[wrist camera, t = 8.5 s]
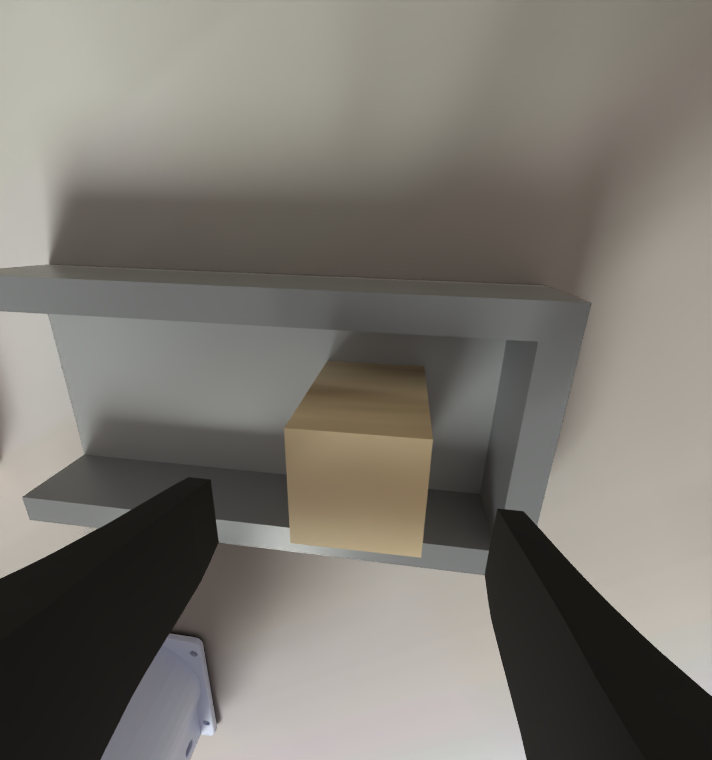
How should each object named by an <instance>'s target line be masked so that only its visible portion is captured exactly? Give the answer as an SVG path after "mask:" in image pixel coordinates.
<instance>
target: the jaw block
mask: <svg viewBox="0 0 712 760" xmlns="http://www.w3.org/2000/svg"><path fill="white" fill-rule="evenodd" d="M284 436H285V454H286V473H287V491H288V509H289V527H290V543H294V544H303V545H312V546H321V547H330V548H339V549H348V550H356V551H365V552H374V553H383V554H392V555H401V556H410V557H419V558H421V554H422V544H423V534H424V524H425V514H426V504H427V494H428V484H429V474H430V464H431V454H432V445H433V435H432V427H431V419H430V410H429V402H428V393H427V385H426V377H425V368H424V366H410V365H392V364H375V363H357V362H339V361H327V362H326V363H325V365H324V367H323V368H322V370H321V371H320V373H319V374H318V376H317V377H316V379H315V381H314V382H313V384H312V385H311V387H310V388H309V390H308V392H307V393H306V395H305V396H304V398H303V399H302V401H301V402H300V404H299V406H298V407H297V409H296V410H295V412H294V413H293V415H292V416H291V418H290V420H289V421H288V423H287V424H286V426H285V427H284Z"/></svg>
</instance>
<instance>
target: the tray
mask: <svg viewBox="0 0 712 760" xmlns="http://www.w3.org/2000/svg"><path fill="white" fill-rule="evenodd" d="M590 306H591V302H588V301H585V300H583V299H580V298H577V297H575V296H572V295H569V294H567V293H564V292H561V291H559V290H556V289H553V288H551V287H548V286H545V285H528V284H504V283H480V282H456V281H432V280H408V279H383V278H359V277H335V276H311V275H287V274H263V273H239V272H215V271H191V270H166V269H142V268H118V267H94V266H70V265H37V266H25V267H13V268H1V269H0V311H8V312H25V313H43V314H48V316H49V320H50V323H51V327H52V331H53V335H54V339H55V343H56V346H57V350H58V354H59V358H60V362H61V366H62V369H63V373H64V377H65V381H66V385H67V389H68V392H69V396H70V400H71V404H72V408H73V412H74V416H75V419H76V423H77V427H78V431H79V435H80V439H81V442H82V446H83V450H84V454H85V455H83V456H82V457H80V458H79V459H77V460H76V461H74V462H73V463H72V464H70V465H69V466H67V467H66V468H64V469H63V470H61V471H60V472H58V473H57V474H55V475H54V476H52V477H51V478H49V479H48V480H47V481H45V482H44V483H42V484H41V485H39V486H38V487H36V488H35V489H33V490H32V491H30V492H29V493H27V494H26V495H25V496H23V497H22V498H23V501H24V504H25V507H26V510H27V513H28V516H29V518H30V520H36V521H44V522H52V523H60V524H68V525H77V526H85V527H93V528H100V527H102V526H104V525H106V524H108V523H109V522H111V521H113V520H115V519H116V518H118V517H120V516H121V515H123V514H125V513H127V512H128V511H130V510H132V509H133V508H135V507H137V506H139V505H140V504H142V503H144V502H145V501H147V500H149V499H150V498H152V497H154V496H156V495H157V494H159V493H161V492H162V491H164V490H166V489H168V488H169V487H171V486H173V485H175V484H176V483H178V482H180V481H182V480H184V479H186V478H188V477H193V478H202V479H211V484H212V492H213V500H214V508H215V516H216V524H217V532H218V540H219V542H218V543H224V544H233V545H241V546H249V547H257V548H265V549H274V550H282V551H290V552H298V553H306V554H315V555H323V556H331V557H339V558H347V559H356V560H364V561H372V562H380V563H389V564H397V565H405V566H413V567H421V568H430V569H438V570H446V571H454V572H462V573H471V574H479V575H485V569H486V564H487V559H488V553H489V548H490V543H491V538H492V533H493V527H494V522H495V517H496V512H497V509H507V510H517V511H524V512H525V513H526V514H527V515H528V516H529V518H530V519H531V520H532V521H533V522H534V523H535V524H536V525H537V524H538V519H539V515H540V511H541V507H542V503H543V499H544V495H545V491H546V487H547V483H548V478H549V474H550V470H551V466H552V462H553V458H554V454H555V450H556V446H557V442H558V438H559V433H560V429H561V425H562V421H563V417H564V413H565V409H566V405H567V401H568V397H569V392H570V388H571V384H572V380H573V376H574V372H575V368H576V364H577V360H578V356H579V351H580V347H581V343H582V339H583V335H584V331H585V327H586V323H587V319H588V315H589V310H590ZM327 361H339V362H357V363H375V364H392V365H410V366H424V368H425V377H426V385H427V393H428V402H429V410H430V419H431V427H432V435H433V445H432V454H431V464H430V474H429V484H428V494H427V504H426V514H425V524H424V534H423V544H422V554H421V558H419V557H410V556H401V555H392V554H383V553H374V552H365V551H356V550H348V549H339V548H330V547H321V546H312V545H303V544H294V543H290V527H289V509H288V491H287V473H286V454H285V436H284V427H285V426H286V424H287V423H288V421H289V420H290V418H291V416H292V415H293V413H294V412H295V410H296V409H297V407H298V406H299V404H300V402H301V401H302V399H303V398H304V396H305V395H306V393H307V392H308V390H309V388H310V387H311V385H312V384H313V382H314V381H315V379H316V377H317V376H318V374H319V373H320V371H321V370H322V368H323V367H324V365H325V363H326V362H327Z"/></svg>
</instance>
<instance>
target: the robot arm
mask: <svg viewBox="0 0 712 760" xmlns="http://www.w3.org/2000/svg"><path fill="white" fill-rule="evenodd" d="M218 542H219V540H218V532H217V524H216V516H215V508H214V500H213V492H212V484H211V479H202V478H193V477H188V478H186V479H184V480H182V481H180V482H178V483H176V484H175V485H173V486H171V487H169V488H168V489H166V490H164V491H162V492H161V493H159V494H157V495H156V496H154V497H152V498H150V499H149V500H147V501H145V502H144V503H142V504H140V505H139V506H137V507H135V508H133V509H132V510H130V511H128V512H127V513H125V514H123V515H121V516H120V517H118V518H116V519H115V520H113V521H111V522H109V523H108V524H106V525H104V526H102V527H100V528H99V529H97V530H95V531H93V532H91V533H89V534H88V535H86V536H84V537H82V538H80V539H78V540H76V541H75V542H73V543H71V544H69V545H67V546H65V547H64V548H62V549H60V550H58V551H56V552H54V553H52V554H50V555H48V556H46V557H44V558H42V559H40V560H38V561H36V562H34V563H32V564H30V565H28V566H26V567H24V568H22V569H20V570H18V571H16V572H13V573H11V574H9V575H7V576H5V577H3V578H1V579H0V760H190V759H191V756H192V754H193V751H194V749H195V747H196V744H197V742H198V739H199V737H200V735H201V734H202V735H208V736H212V735H214V734H215V732H216V729H217V724H216V718H215V712H214V706H213V700H212V695H211V689H210V683H209V677H208V671H207V665H206V659H205V653H204V647H203V643H202V641H201V640H200V639H199V638H196V637H190V636H184V635H177V634H170V632H171V630H172V628H173V627H174V625H175V624H176V622H177V620H178V619H179V617H180V615H181V614H182V612H183V610H184V609H185V607H186V605H187V604H188V602H189V600H190V599H191V597H192V595H193V594H194V592H195V590H196V589H197V587H198V585H199V583H200V582H201V580H202V578H203V576H204V574H205V571H206V569H207V567H208V565H209V563H210V561H211V558H212V556H213V554H214V551H215V549H216V547H217V545H218ZM485 580H486V587H487V595H488V602H489V608H490V615H491V620H492V624H493V628H494V632H495V636H496V640H497V644H498V648H499V652H500V656H501V659H502V663H503V667H504V671H505V675H506V679H507V682H508V686H509V690H510V694H511V698H512V702H513V705H514V709H515V713H516V717H517V721H518V724H519V728H520V732H521V736H522V741H523V745H524V750H525V754H526V758H527V760H712V696H711V695H710V694H708V693H707V692H706V691H705V690H704V689H702V688H701V687H700V686H699V685H698V684H697V683H696V682H694V681H693V680H692V679H691V678H690V677H689V676H687V675H686V674H685V673H684V672H683V671H682V670H681V669H679V668H678V667H677V666H676V665H675V664H674V663H673V662H671V661H670V660H669V659H668V658H667V657H666V656H664V655H663V654H662V653H661V652H660V651H659V650H658V649H657V648H656V647H654V646H653V645H652V644H651V643H650V642H649V641H648V640H647V639H646V638H645V637H644V636H643V635H641V634H640V633H639V632H638V631H637V630H636V629H635V628H634V627H633V626H632V625H631V624H630V623H629V622H628V621H627V620H626V619H625V618H624V617H623V616H622V615H621V614H620V613H619V612H618V611H617V610H616V609H614V608H613V607H612V606H611V605H610V604H609V603H608V602H607V601H606V600H605V599H604V598H603V597H602V596H601V595H600V594H599V592H598V591H597V590H596V589H595V588H594V587H593V586H592V585H591V584H590V583H589V582H588V581H587V580H586V579H585V578H584V577H583V576H582V575H581V574H580V573H579V572H578V571H577V570H576V568H575V567H574V566H573V565H572V564H571V563H570V562H569V561H568V560H567V559H566V558H565V557H564V555H563V554H562V553H561V552H560V551H559V550H558V549H557V548H556V547H555V545H554V544H553V543H552V542H551V541H550V540H549V539H548V538H547V537H546V535H545V534H544V533H543V532H542V531H541V530H540V529H539V528H538V526H537V525H536V524H535V523H534V522H533V521H532V520H531V519H530V518H529V516H528V515H527V514H526V513H525V512H524V511H517V510H507V509H497V512H496V517H495V522H494V527H493V533H492V538H491V543H490V548H489V553H488V559H487V564H486V569H485Z"/></svg>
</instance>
